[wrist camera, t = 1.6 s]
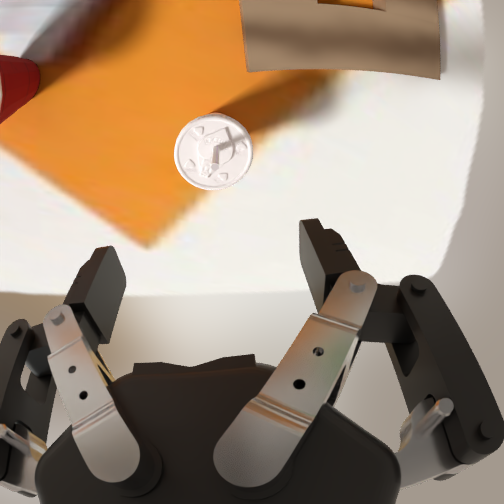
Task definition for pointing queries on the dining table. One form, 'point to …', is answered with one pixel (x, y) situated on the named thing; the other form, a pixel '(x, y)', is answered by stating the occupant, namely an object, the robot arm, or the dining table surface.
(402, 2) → the socket board
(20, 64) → the plastic cup
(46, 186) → the dining table surface
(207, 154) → the smoothie
